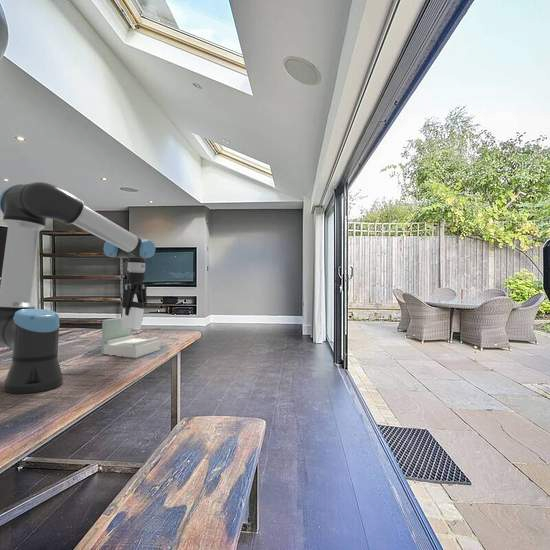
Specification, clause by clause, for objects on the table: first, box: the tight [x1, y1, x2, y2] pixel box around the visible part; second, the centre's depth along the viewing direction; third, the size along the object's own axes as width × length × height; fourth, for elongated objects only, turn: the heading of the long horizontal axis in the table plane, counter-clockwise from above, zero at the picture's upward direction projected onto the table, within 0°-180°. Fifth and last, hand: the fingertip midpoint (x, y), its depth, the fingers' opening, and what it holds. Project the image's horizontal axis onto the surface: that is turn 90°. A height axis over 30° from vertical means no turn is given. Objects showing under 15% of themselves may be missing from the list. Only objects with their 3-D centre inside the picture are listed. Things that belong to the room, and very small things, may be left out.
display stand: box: [100, 316, 161, 359], centre depth 159 cm, size 18×18×15 cm
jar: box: [120, 300, 145, 330], centre depth 158 cm, size 9×8×12 cm
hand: (134, 321), depth 159 cm, fingers closed on jar, 8 cm apart
